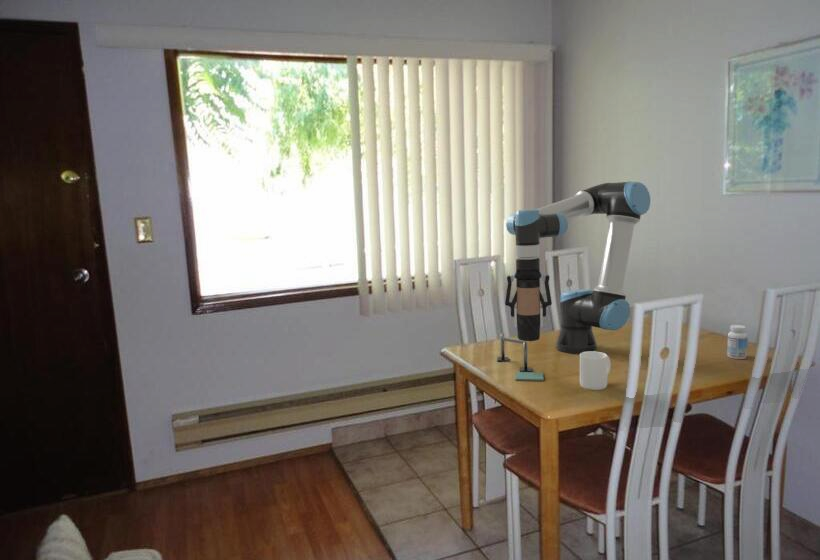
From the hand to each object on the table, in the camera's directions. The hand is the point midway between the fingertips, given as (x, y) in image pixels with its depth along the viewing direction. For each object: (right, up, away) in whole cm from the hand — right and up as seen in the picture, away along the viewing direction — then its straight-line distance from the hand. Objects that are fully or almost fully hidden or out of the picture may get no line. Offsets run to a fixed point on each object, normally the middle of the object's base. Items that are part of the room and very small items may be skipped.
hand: (528, 326), depth 184 cm
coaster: (+1, -17, +3) cm, 18 cm away
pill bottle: (+77, -12, +14) cm, 79 cm away
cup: (+20, -18, -7) cm, 28 cm away
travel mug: (0, -4, +1) cm, 4 cm away
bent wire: (-2, -15, +16) cm, 23 cm away
